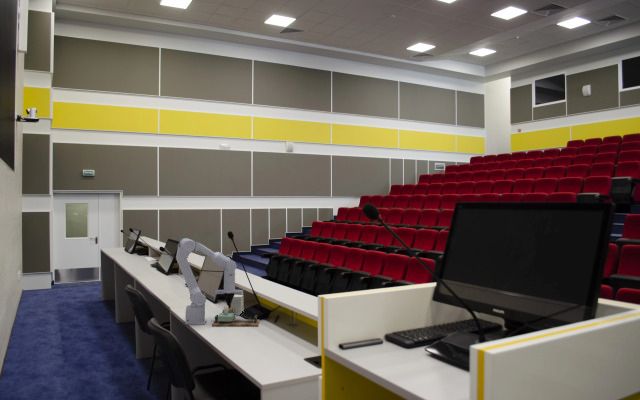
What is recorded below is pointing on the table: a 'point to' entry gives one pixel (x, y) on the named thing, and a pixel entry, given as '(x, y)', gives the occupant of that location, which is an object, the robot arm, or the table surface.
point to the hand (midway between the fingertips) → (229, 307)
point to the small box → (238, 304)
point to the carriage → (226, 315)
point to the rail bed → (236, 323)
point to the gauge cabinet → (231, 312)
